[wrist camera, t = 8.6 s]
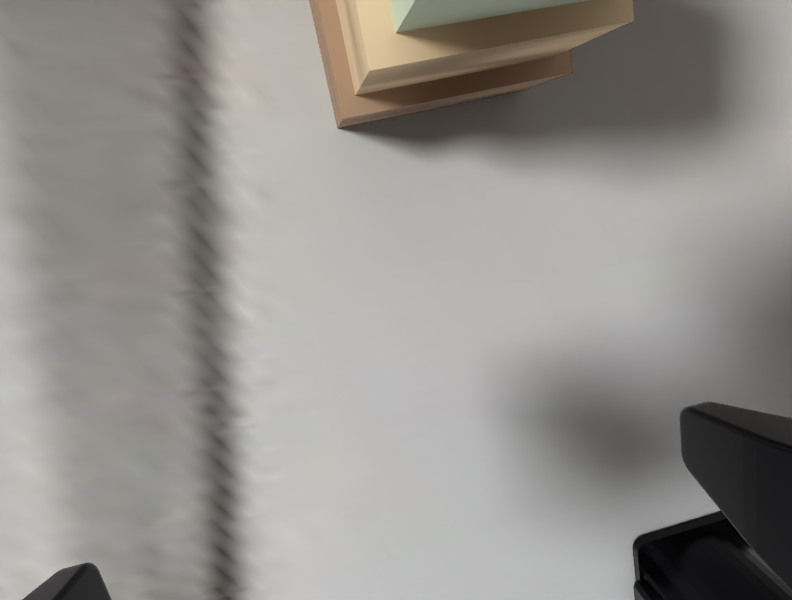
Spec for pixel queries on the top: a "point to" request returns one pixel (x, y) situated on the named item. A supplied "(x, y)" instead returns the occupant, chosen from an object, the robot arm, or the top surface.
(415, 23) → the sage block
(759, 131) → the top surface
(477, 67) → the oak block
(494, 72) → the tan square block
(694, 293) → the top surface
